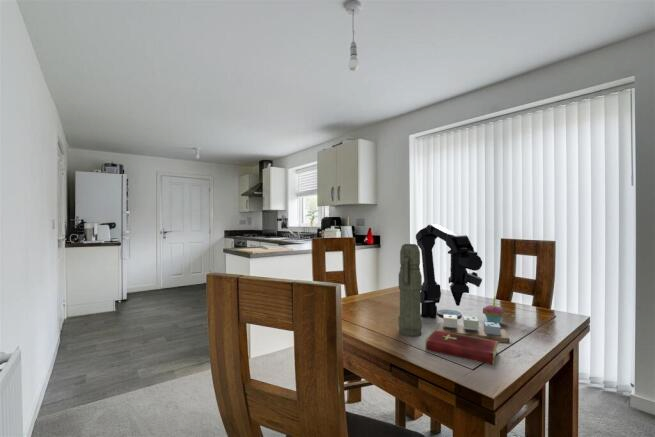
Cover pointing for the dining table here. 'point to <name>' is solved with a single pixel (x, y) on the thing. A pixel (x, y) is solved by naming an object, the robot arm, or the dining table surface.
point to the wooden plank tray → (474, 332)
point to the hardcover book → (462, 346)
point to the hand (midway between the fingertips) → (457, 305)
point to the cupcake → (493, 313)
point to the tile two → (470, 322)
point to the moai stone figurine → (410, 291)
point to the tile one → (450, 320)
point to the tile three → (492, 328)
